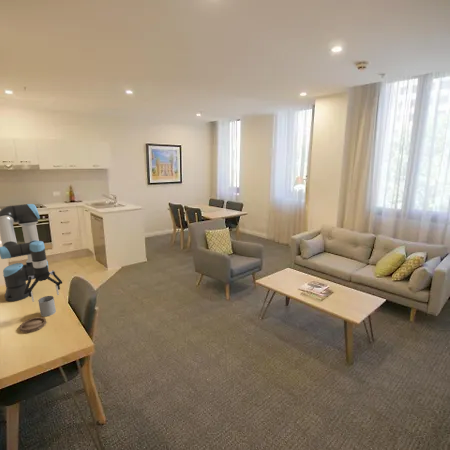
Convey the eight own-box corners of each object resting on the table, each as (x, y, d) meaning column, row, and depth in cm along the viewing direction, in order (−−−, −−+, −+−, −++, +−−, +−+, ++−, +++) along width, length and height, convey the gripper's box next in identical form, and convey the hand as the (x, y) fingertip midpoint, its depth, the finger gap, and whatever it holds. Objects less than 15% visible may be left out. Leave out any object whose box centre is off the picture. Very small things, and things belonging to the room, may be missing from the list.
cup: (48, 317, 181) (46, 303, 178) (37, 315, 182) (35, 301, 180) (58, 310, 189) (56, 296, 186) (48, 308, 190) (45, 295, 188)
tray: (19, 324, 173) (19, 322, 173) (44, 317, 181) (44, 314, 180) (21, 335, 163) (20, 332, 163) (47, 327, 171) (47, 324, 170)
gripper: (16, 273, 167) (22, 306, 172) (64, 263, 182) (68, 294, 187) (15, 269, 173) (21, 301, 178) (62, 260, 188) (66, 289, 193)
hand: (45, 297), depth 182 cm, fingers open, 13 cm apart
